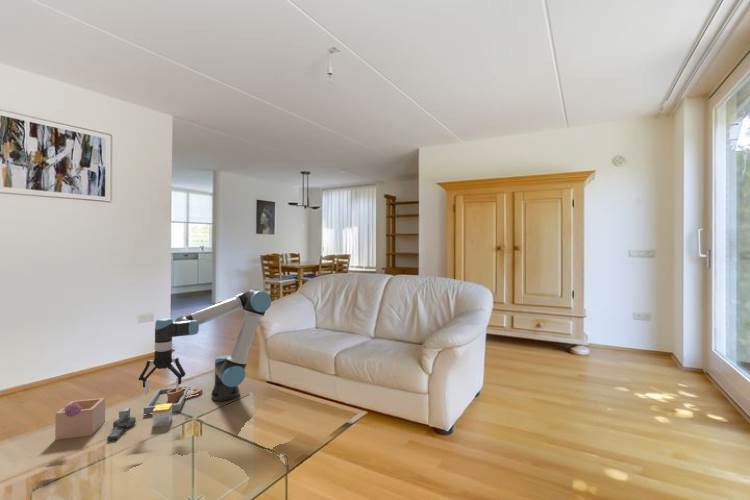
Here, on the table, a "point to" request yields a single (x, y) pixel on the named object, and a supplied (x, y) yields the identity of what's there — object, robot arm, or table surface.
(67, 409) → the artificial flower
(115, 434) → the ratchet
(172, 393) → the brown long-handled pot
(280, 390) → the table surface
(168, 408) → the orange-topped grey block
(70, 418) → the open pinkish beige box
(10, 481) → the table surface
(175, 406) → the frame
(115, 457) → the table surface
